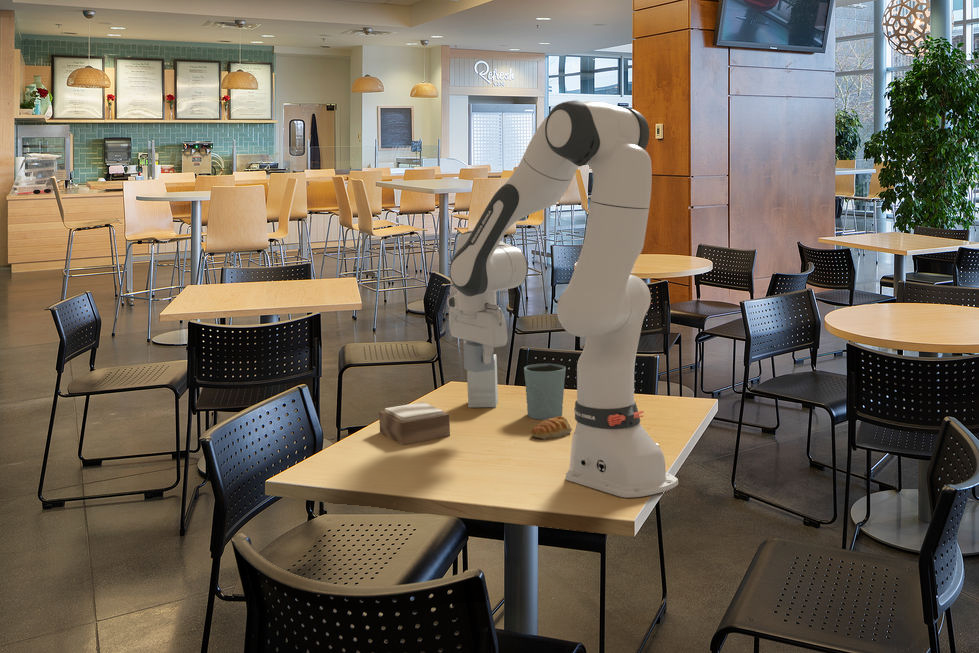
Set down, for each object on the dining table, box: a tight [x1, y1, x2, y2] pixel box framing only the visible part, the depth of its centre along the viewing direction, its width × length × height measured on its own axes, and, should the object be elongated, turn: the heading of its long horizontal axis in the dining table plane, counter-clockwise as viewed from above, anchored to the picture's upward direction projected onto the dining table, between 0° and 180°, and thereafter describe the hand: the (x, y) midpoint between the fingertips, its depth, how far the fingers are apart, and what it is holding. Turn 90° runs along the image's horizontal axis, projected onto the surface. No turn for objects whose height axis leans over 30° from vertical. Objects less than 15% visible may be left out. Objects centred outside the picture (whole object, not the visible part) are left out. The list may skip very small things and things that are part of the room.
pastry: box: [531, 415, 572, 440], centre depth 203 cm, size 9×7×4 cm
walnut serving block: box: [378, 401, 451, 445], centre depth 205 cm, size 12×12×6 cm
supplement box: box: [466, 353, 499, 408], centre depth 230 cm, size 7×7×13 cm
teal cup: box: [523, 363, 567, 421], centre depth 219 cm, size 10×10×12 cm
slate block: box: [463, 342, 495, 373], centre depth 205 cm, size 5×5×6 cm
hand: (478, 361), depth 205 cm, fingers closed on slate block, 5 cm apart
